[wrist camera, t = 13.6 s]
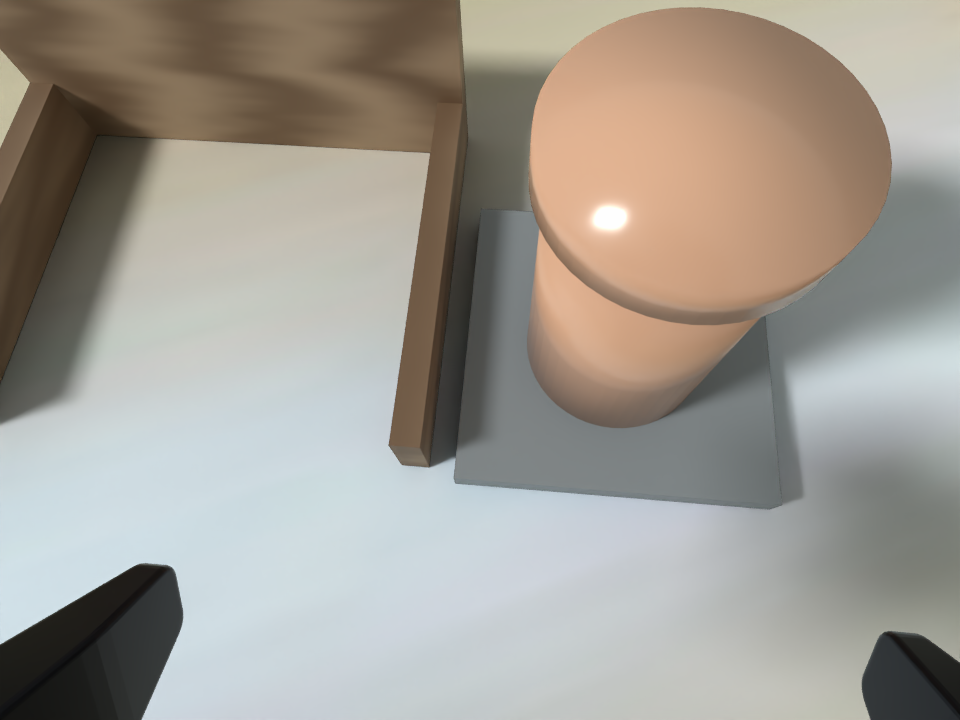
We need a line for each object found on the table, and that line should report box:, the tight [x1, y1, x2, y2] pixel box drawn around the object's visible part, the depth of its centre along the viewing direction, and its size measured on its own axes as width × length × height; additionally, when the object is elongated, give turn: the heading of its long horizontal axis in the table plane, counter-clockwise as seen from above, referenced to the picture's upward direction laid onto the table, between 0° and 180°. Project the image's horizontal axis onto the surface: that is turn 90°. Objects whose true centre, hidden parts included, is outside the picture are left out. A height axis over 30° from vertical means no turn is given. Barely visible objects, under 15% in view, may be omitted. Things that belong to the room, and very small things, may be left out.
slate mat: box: [454, 209, 782, 509], centre depth 23 cm, size 11×11×1 cm
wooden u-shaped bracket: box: [0, 0, 468, 467], centre depth 22 cm, size 18×15×8 cm
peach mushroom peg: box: [527, 8, 892, 428], centre depth 18 cm, size 7×7×11 cm
